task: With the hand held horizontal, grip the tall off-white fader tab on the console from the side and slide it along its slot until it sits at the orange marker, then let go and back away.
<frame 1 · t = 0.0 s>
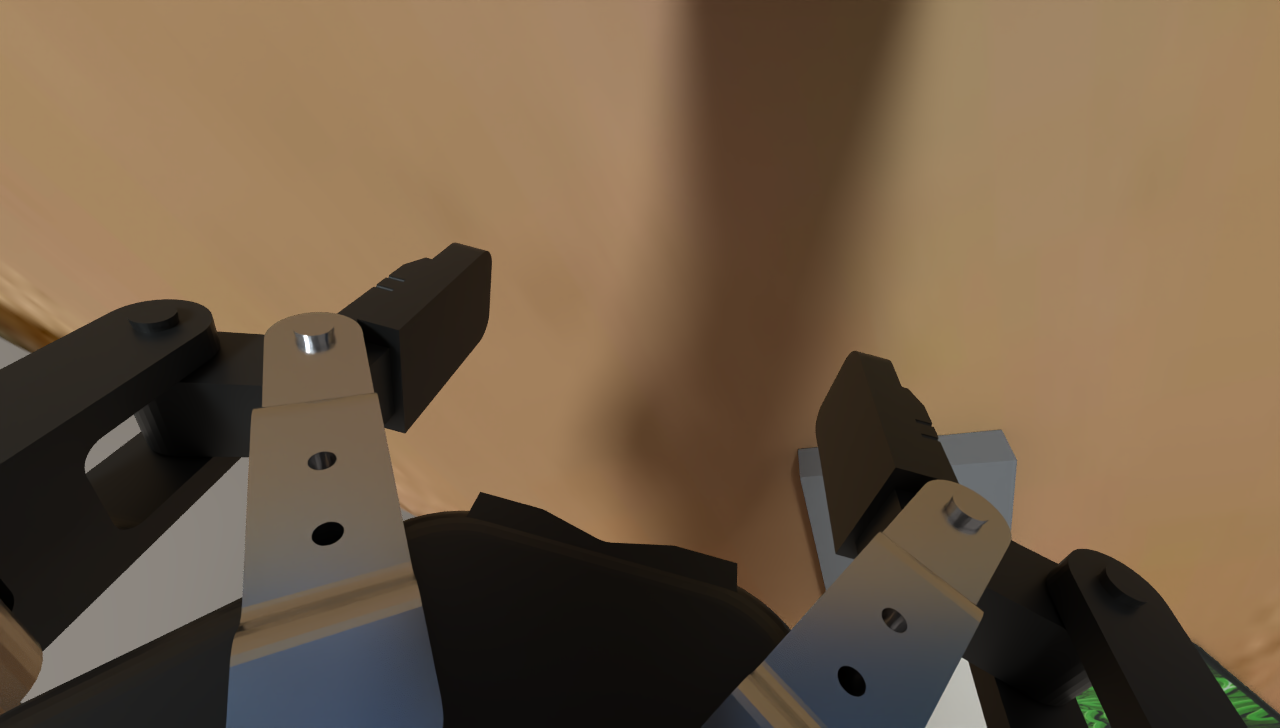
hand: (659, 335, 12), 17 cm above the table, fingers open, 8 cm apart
console: (903, 544, 40), on the table
mouse mat: (1071, 713, 51), on the table
fader: (934, 647, 30), point 10 cm above the table, slide at 0.0 cm
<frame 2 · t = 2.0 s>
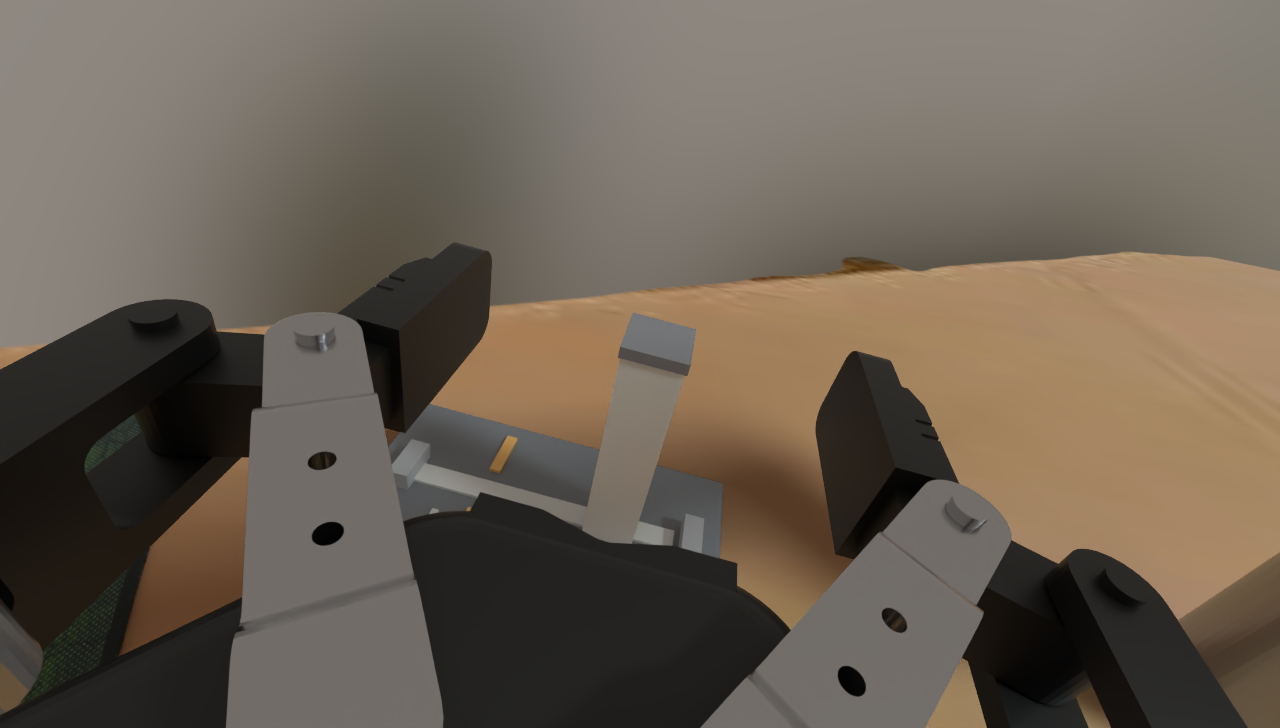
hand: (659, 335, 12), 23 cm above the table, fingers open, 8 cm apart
console: (542, 532, 34), on the table
fader: (632, 441, 29), point 10 cm above the table, slide at 0.0 cm
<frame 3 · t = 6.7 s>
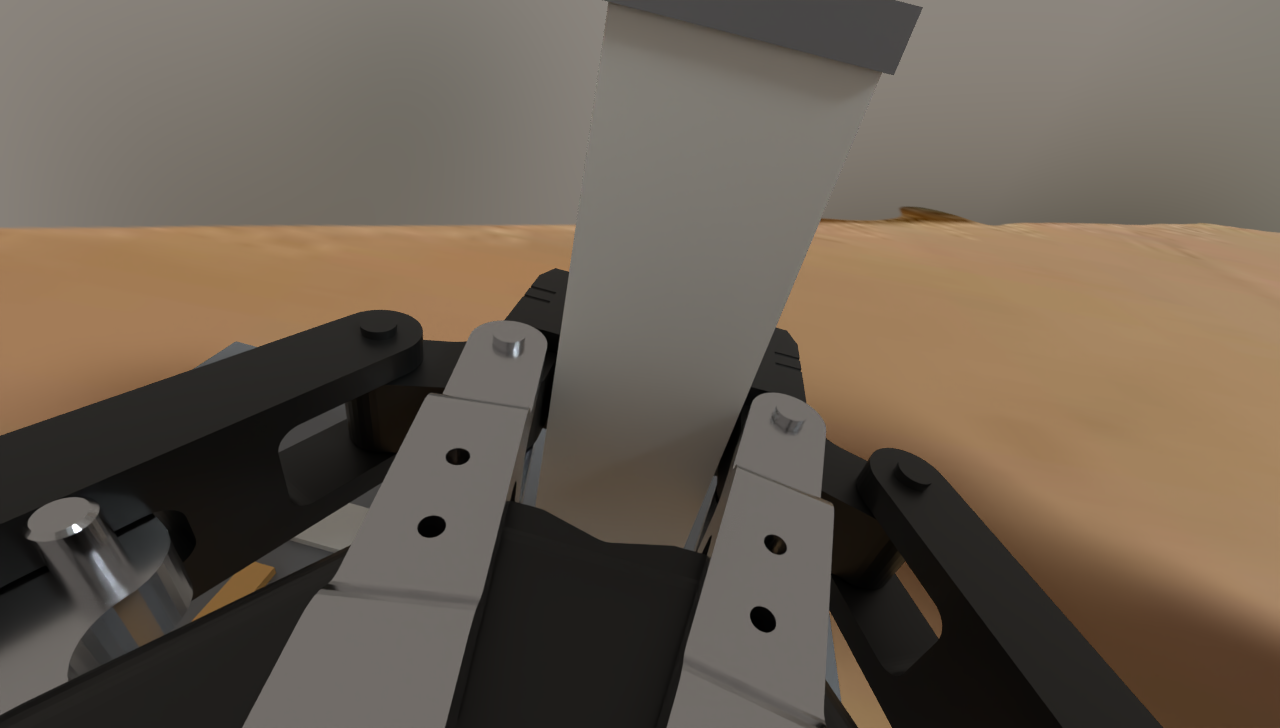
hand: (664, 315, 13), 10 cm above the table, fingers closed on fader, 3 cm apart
console: (445, 607, 16), on the table
fader: (644, 397, 10), point 10 cm above the table, slide at 0.0 cm, touching gripper
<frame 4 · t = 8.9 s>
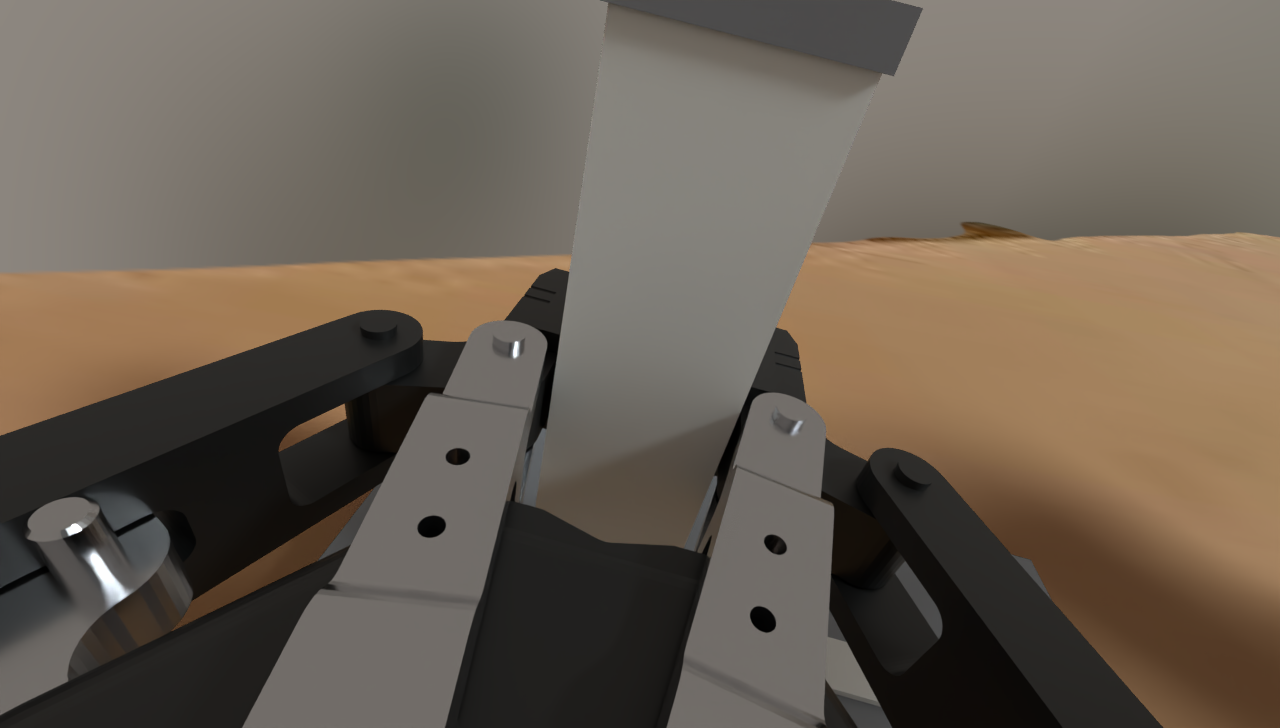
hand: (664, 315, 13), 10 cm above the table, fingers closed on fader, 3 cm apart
console: (704, 680, 16), on the table
fader: (644, 397, 10), point 10 cm above the table, slide at 8.0 cm, touching gripper
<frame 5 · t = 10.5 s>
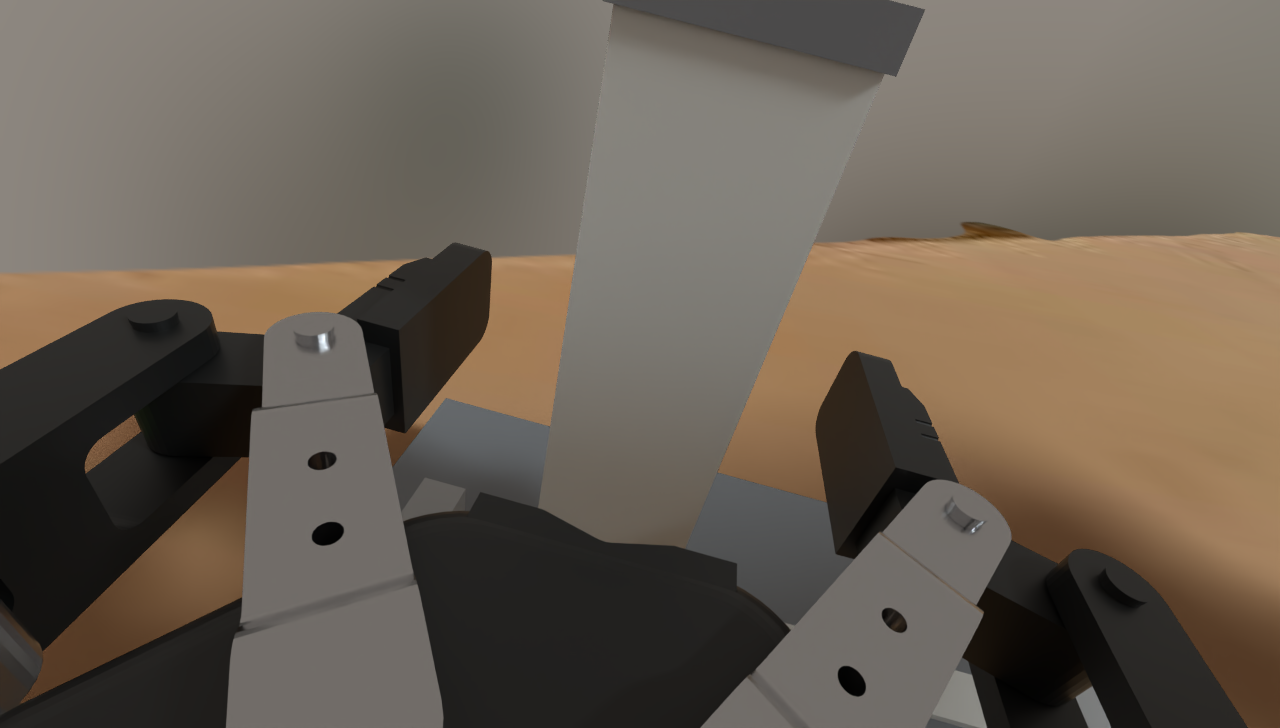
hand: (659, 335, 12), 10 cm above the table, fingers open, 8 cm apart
console: (706, 678, 16), on the table
fader: (647, 396, 10), point 10 cm above the table, slide at 8.0 cm
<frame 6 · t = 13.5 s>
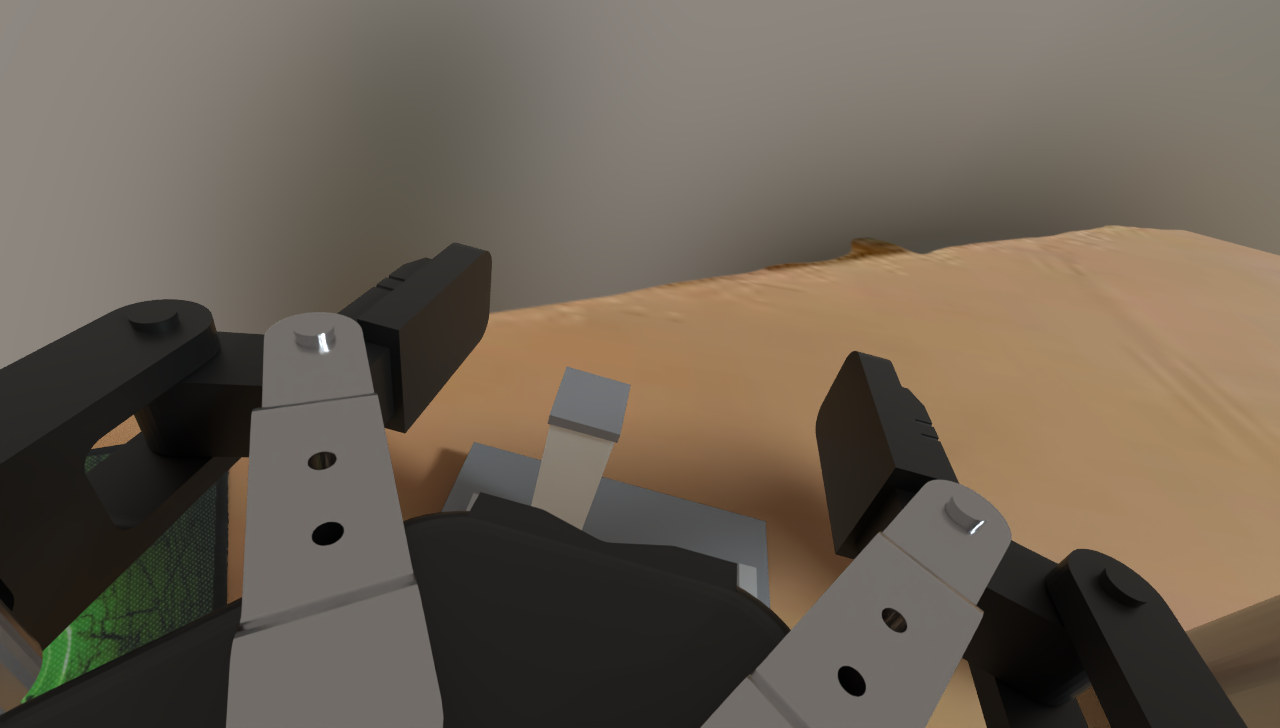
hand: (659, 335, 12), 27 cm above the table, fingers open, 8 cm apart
console: (600, 576, 36), on the table
fader: (567, 481, 29), point 10 cm above the table, slide at 8.0 cm
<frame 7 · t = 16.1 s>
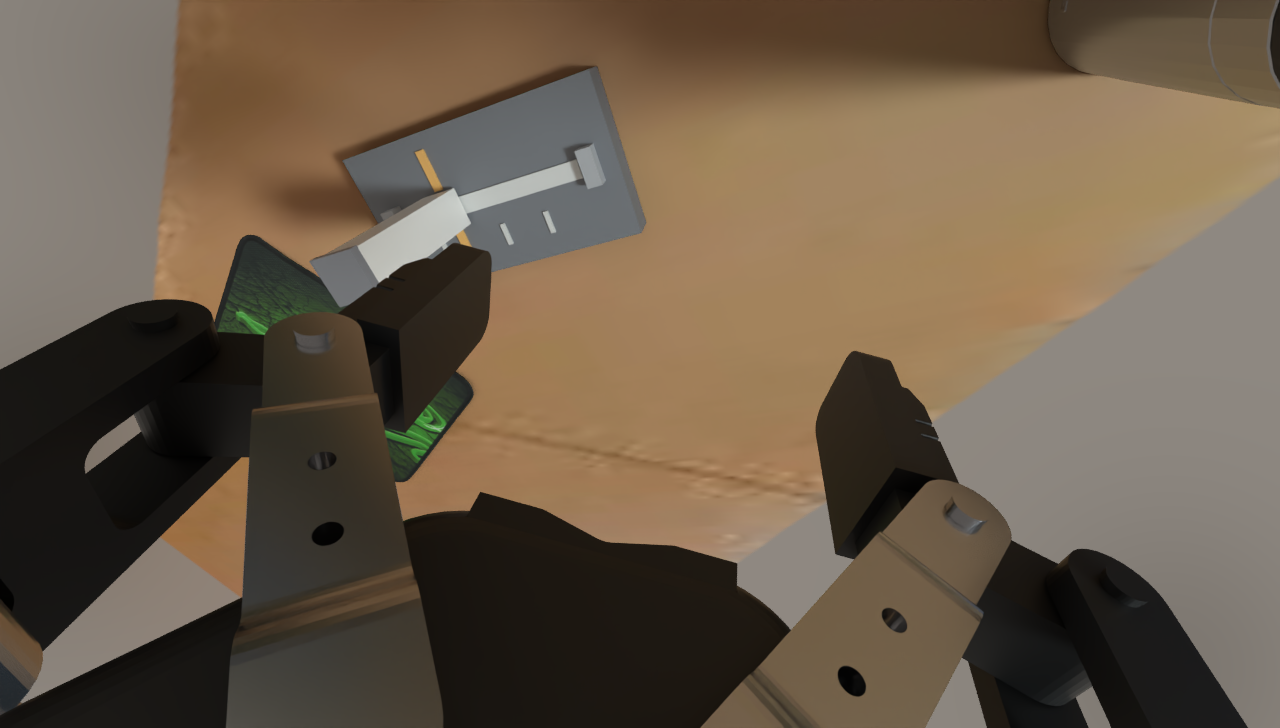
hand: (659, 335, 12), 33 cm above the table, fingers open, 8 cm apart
console: (502, 187, 45), on the table
mouse mat: (338, 371, 61), on the table
fader: (403, 240, 38), point 10 cm above the table, slide at 8.0 cm
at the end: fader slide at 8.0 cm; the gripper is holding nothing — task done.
